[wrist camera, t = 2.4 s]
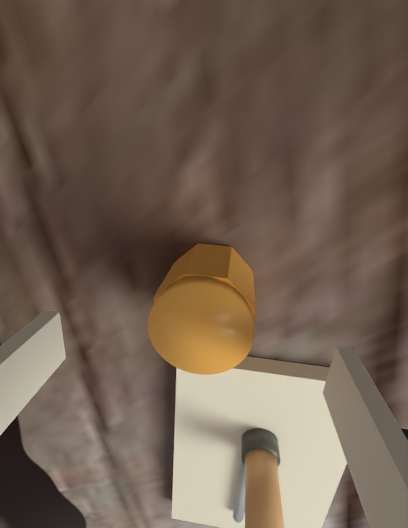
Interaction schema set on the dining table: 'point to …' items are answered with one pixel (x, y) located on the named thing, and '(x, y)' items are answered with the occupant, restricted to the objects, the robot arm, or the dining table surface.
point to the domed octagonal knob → (204, 311)
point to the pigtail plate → (243, 410)
